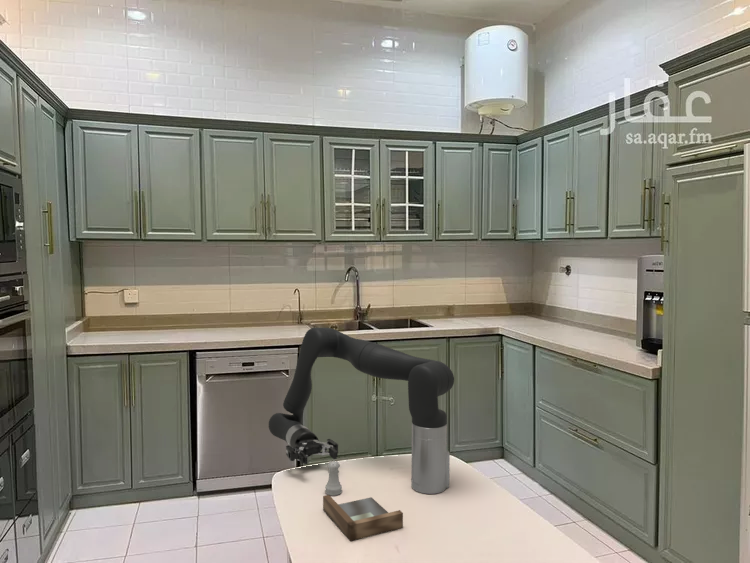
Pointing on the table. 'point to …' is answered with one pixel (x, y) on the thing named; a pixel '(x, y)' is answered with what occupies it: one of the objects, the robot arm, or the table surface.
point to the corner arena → (362, 517)
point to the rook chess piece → (333, 479)
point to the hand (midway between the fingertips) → (321, 458)
